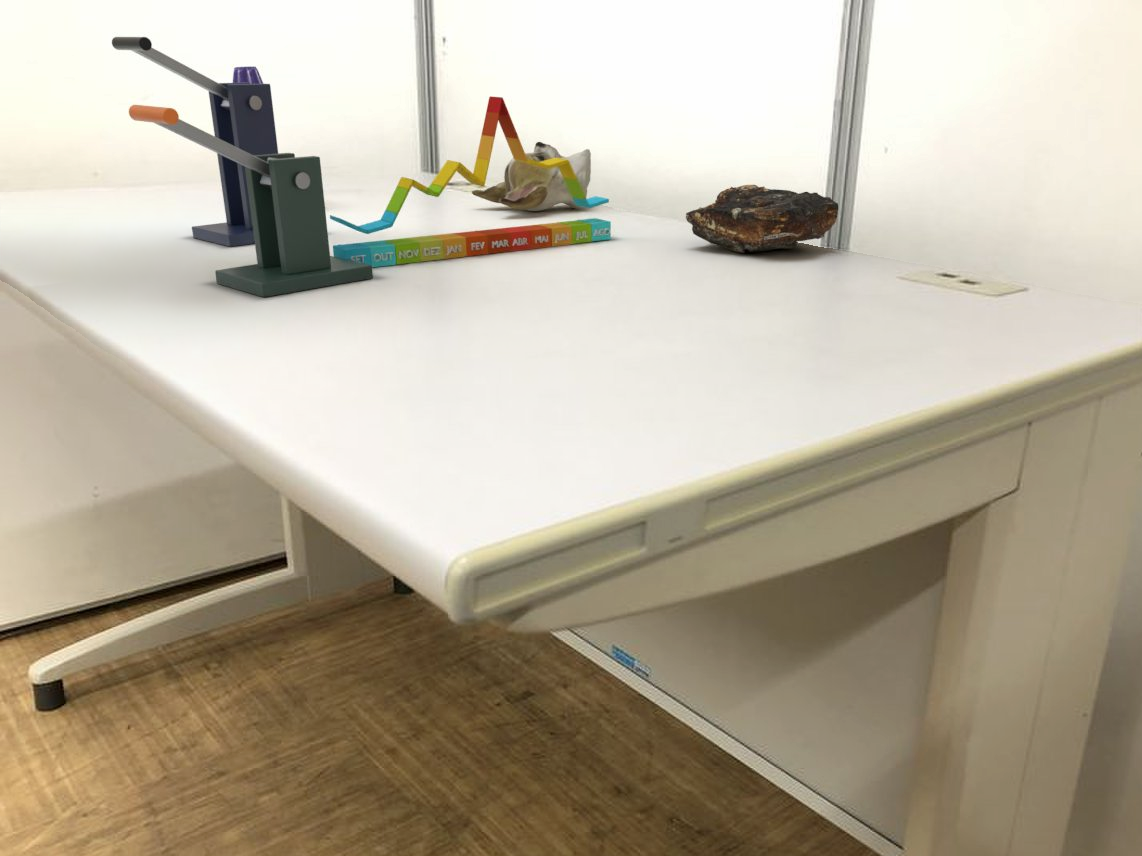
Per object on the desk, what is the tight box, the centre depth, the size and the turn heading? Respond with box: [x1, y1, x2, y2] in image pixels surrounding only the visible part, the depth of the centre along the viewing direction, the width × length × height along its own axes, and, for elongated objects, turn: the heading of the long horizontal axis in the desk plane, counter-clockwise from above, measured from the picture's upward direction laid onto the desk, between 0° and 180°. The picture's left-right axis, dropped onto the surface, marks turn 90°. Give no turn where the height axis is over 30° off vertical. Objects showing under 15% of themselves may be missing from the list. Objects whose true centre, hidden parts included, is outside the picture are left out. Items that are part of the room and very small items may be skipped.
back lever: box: [111, 36, 230, 111], centre depth 107 cm, size 14×6×2 cm, turn 138°
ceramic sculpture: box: [471, 141, 592, 212], centre depth 135 cm, size 11×9×15 cm
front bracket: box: [214, 152, 374, 298], centre depth 93 cm, size 11×8×11 cm
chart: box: [329, 96, 612, 268], centre depth 106 cm, size 30×3×15 cm, turn 126°
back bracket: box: [191, 82, 279, 248], centre depth 114 cm, size 11×8×16 cm
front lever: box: [128, 104, 277, 189], centre depth 88 cm, size 14×6×2 cm, turn 138°
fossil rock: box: [685, 184, 839, 254], centre depth 112 cm, size 14×14×6 cm
